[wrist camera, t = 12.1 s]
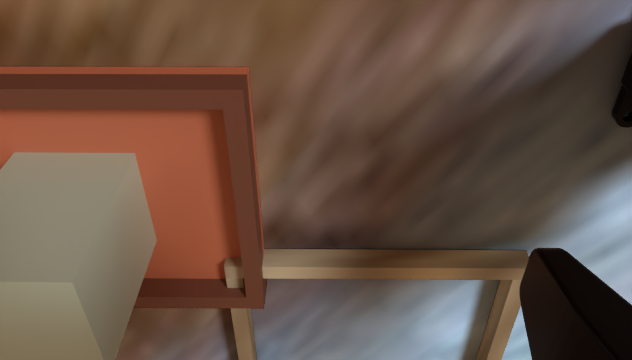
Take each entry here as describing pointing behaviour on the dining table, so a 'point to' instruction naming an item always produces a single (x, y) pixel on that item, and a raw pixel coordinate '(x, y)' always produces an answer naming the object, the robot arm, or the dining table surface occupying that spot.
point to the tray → (159, 163)
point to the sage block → (70, 253)
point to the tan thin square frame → (392, 266)
